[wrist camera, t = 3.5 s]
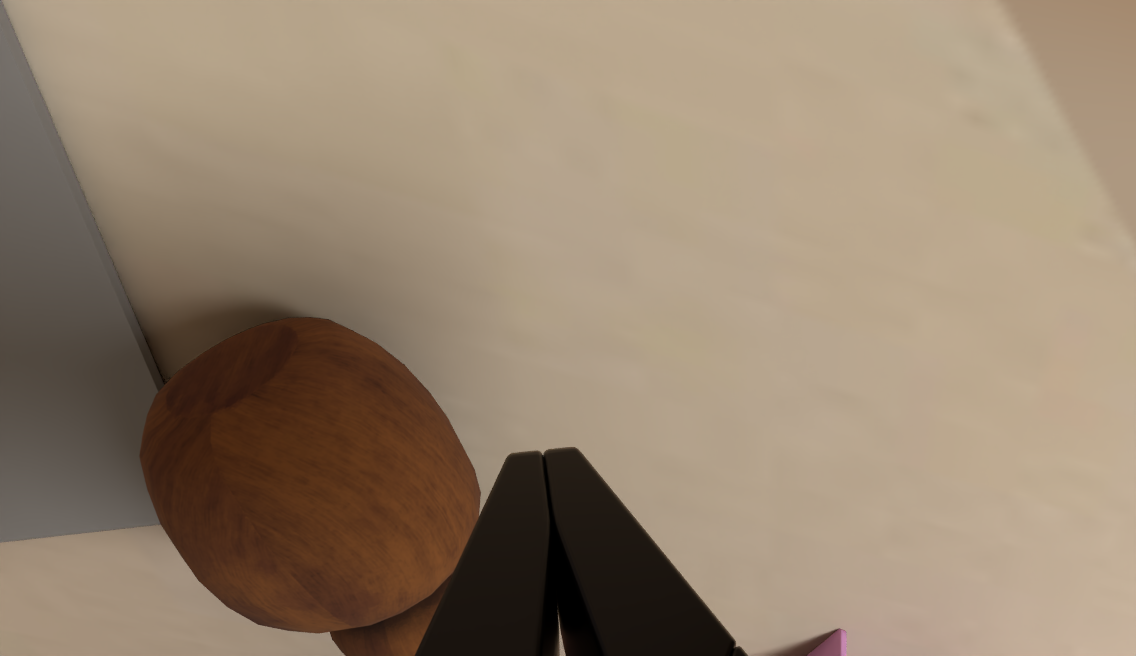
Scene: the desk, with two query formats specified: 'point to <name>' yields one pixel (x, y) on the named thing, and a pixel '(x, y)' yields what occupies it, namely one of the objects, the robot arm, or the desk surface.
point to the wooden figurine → (312, 484)
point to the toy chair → (832, 645)
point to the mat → (62, 339)
